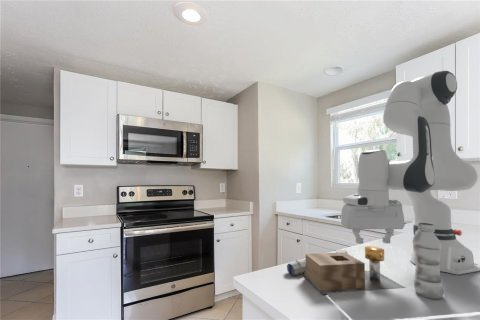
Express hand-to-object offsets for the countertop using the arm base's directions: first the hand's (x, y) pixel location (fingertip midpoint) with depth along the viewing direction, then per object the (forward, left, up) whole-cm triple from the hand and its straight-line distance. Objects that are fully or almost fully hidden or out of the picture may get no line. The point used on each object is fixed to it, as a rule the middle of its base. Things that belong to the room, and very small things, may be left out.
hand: (373, 243), depth 79 cm
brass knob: (-1, 0, -11) cm, 11 cm away
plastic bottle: (-9, +11, -12) cm, 18 cm away
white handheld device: (+12, -11, -13) cm, 21 cm away
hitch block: (+7, 0, -12) cm, 14 cm away
